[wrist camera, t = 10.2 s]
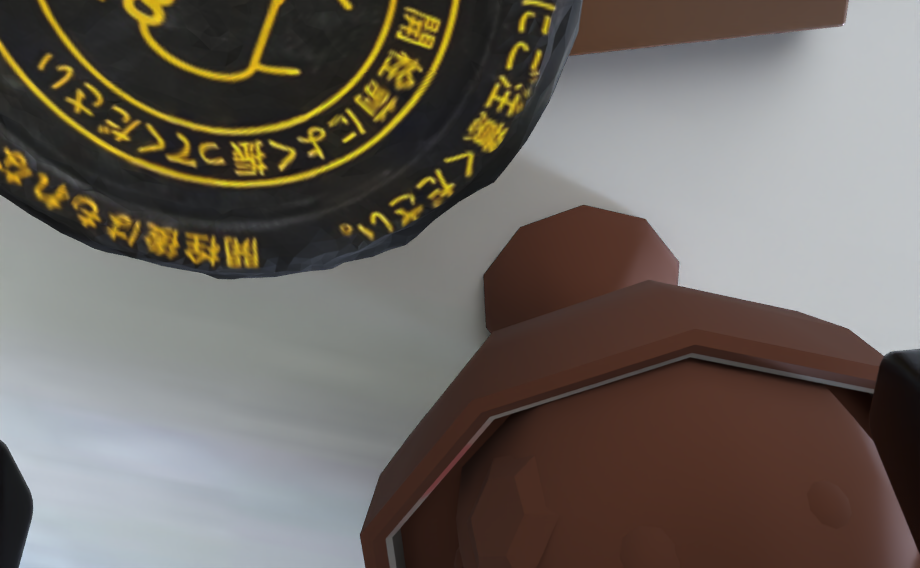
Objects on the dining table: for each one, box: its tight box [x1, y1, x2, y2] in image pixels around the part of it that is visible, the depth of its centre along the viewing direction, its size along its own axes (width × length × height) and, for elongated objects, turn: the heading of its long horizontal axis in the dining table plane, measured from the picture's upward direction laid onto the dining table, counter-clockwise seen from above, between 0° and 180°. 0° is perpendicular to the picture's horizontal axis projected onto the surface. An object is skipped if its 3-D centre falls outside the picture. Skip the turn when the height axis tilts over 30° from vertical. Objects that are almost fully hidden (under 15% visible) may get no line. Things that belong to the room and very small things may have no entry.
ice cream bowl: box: [360, 205, 920, 568], centre depth 17 cm, size 11×11×15 cm
